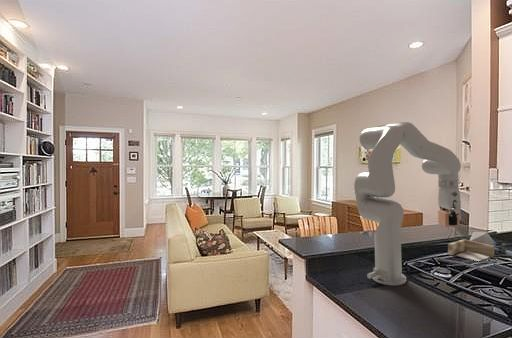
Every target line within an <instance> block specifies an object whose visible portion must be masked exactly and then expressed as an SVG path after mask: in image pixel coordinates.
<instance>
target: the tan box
mask: <svg viewBox="0 0 512 338" xmlns="http://www.w3.org/2000/svg"><path fill="white" fill-rule="evenodd" d="M447 255H449V256H454V255H456V257H460V258H463V259H467V260H470V261H473V260H474V262H477V261H478V262H477V263H479V261H480V262H482V261H486V260H488V259H490V258H495V245H493V244H492V245H488V244H484V243H479V242H475V241H471V240H470V239H466V238H463V239H460V240H456V241H453V242H449V243H447Z"/></svg>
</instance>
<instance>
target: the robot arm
mask: <svg viewBox="0 0 512 338" xmlns="http://www.w3.org/2000/svg"><path fill="white" fill-rule="evenodd" d="M359 143H360V145H361V146H362V147H363V148H364V149H368V150H371V152H370V154H369V156H368V158H367V167H368V168H367V170H368V171H362V172H360V173H359V174H358V175H357V176H356V177H355V180H354V183H353V185H354V186H353V187H354V188H353V189H354V194H355V200H356V201H355V202H356V204H357V205H356V206H357V211H358V213H359V216H360V217H361V218H362V219H364V220H367V221H371V222H376V223H377V224H378V226H377V227H376V229H375V230H374V236H373V237H374V266H375V267H373V270H372V272H371V271H370V272H369V273H367V274H366V276H367V279H372V280H373V281H374V282H376V283H379V284H382V285H385V286H392V287H394V286H395V287H396V286H402V285H404V284H406V282H407V276H406V275H405V274H404V273H402V272H403V268H402V224H403V220H404V208H403V206H402V205H401V204H400V203H399V202H398V201H395V200H393V199H386V198H390V197H392V196H393V195H394V194H395V190H396V183H395V182H396V181H395V176H394V169H393V157H394V154H395V152H396V150H397V149H398V148H399V146H400V145H401V146H402V147H403V148H404V149H405V151H407V153H409V154H410V155H411V156H413V157H414V158H418V159H419V160H420V159H421V160H423V161H422V163H421V169H422V171H423V172H424V173H426V174H429V175H438V179H437V180H438V182H437V184H438V186H437V187H438V196H437V197H438V206H439V210H449V214H450V216H449V225H457V216H458V213H460V211H461V207H462V202H461V194H460V188H459V172H460V171H461V168H462V165H461V161H460V159H459V157H457V155H456V154H455V153H454V151H452V150H451V149H449V148H447V147H445V146H443V145H440V144H438V143H435V142H432V141H430V140H429V139H428V138H427V137H426V136H425V135H424V134H423V133H422V132H421V131H420V129H418V128H417V127H416V125H414V124H413V123H412V122H407V121H403V122H402V121H401V122H393V123H386V124H383V125H378V126H373V127H367V128H365V129H364V130H363V131H361V133H360V135H359ZM452 211H453V212H452Z"/></svg>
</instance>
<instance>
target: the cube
mask: <svg viewBox="0 0 512 338" xmlns="http://www.w3.org/2000/svg"><path fill="white" fill-rule="evenodd" d="M452 212H453V211H452ZM437 215H438V216H437V223H438V224H439V225H441V226H443V227H451V228H452V227H460V226H461V225H460V223H461V222H460V221H461V219H460V216H461V215H460V212H459V213H458V216H457V225H449V216H450V214H449V210H440V209H439V210H437Z"/></svg>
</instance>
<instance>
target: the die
mask: <svg viewBox="0 0 512 338" xmlns="http://www.w3.org/2000/svg"><path fill="white" fill-rule="evenodd" d="M469 240H471V241H475V242H479V243H484V244H488V245H492V246H493V245H494V242H495V241H494V239H493V238H492V237H491V235H490V234H489V233H488V232H483V231H473V233H472V235H471V236H470V238H469Z"/></svg>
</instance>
